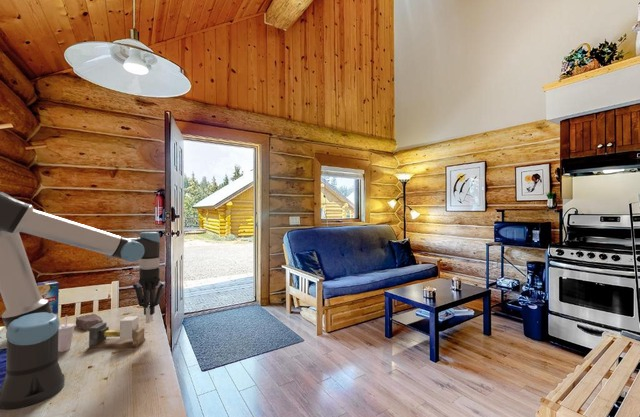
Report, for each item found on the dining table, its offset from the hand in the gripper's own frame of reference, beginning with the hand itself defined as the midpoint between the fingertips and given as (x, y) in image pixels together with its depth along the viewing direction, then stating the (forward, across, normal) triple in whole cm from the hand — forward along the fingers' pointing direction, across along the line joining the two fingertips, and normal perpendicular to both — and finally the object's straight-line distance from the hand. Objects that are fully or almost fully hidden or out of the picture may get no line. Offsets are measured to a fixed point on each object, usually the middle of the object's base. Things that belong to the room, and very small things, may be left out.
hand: (149, 321), depth 127 cm
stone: (+10, +39, -20) cm, 45 cm away
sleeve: (+6, +8, 0) cm, 10 cm away
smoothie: (+9, +31, +5) cm, 33 cm away
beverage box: (+9, +58, -15) cm, 60 cm away
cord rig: (+9, +13, 0) cm, 16 cm away
